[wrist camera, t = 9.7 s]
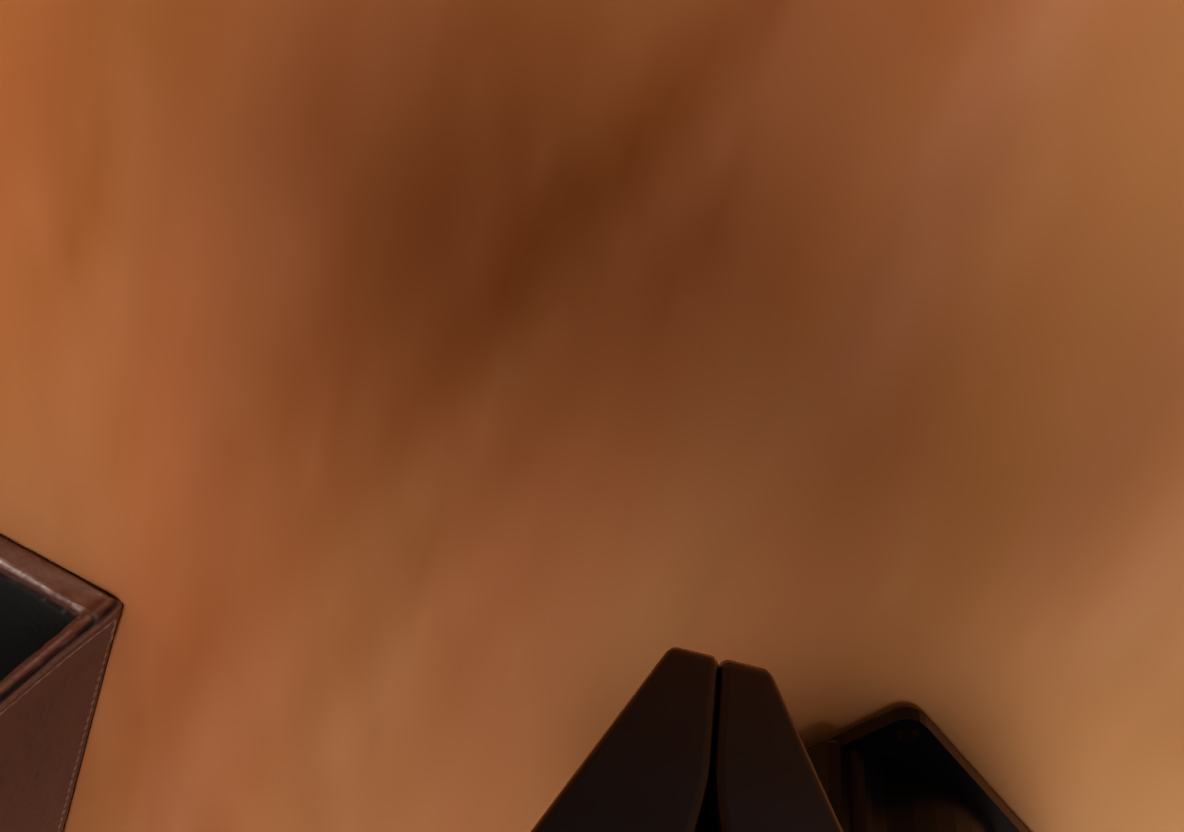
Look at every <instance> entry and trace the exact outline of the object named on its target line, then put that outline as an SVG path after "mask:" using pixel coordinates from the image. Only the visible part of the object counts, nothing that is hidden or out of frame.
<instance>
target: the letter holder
mask: <svg viewBox="0 0 1184 832" xmlns="http://www.w3.org/2000/svg"><path fill="white" fill-rule="evenodd" d="M121 610H122V602H121V601H120V600H119V599H117V598H115V597H112V596H110V595H109V594H108V593H106V592H105V591H103V590H101V589H99V588H98V587H96V586H94V585H92V584H90V583H89V582H87V581H85V580H83V579H81V578H79V577H78V576H76V575H74V574H72V573H70V572H68V571H66V570H65V569H63V568H61V567H59V566H57V565H55V564H53V563H52V562H50V561H48V560H46V559H44V558H42V557H41V556H39V555H37V554H35V553H33V552H31V551H30V550H28V549H26V548H24V547H22V546H20V545H18V544H16V543H15V542H13V541H11V540H9V539H7V538H5V537H3V536H2V535H0V832H63V827H64V824H65V821H66V818H67V814H68V809H69V805H70V802H71V799H72V795H73V790H74V786H75V782H76V779H77V775H78V771H79V768H80V764H81V760H82V756H83V752H84V748H85V744H86V740H87V736H88V732H89V729H90V725H91V721H92V717H93V714H94V710H95V706H96V702H97V698H98V694H99V691H100V687H101V683H102V679H103V675H104V671H105V667H106V663H107V660H108V656H109V652H110V647H111V644H112V640H113V637H114V634H115V630H116V627H117V623H118V619H119V616H120V613H121Z"/></svg>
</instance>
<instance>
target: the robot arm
mask: <svg viewBox="0 0 1184 832" xmlns="http://www.w3.org/2000/svg"><path fill="white" fill-rule="evenodd" d="M905 727H910V728H914V729H915V730H914V731H910V732H906V731H902V730H900V729H901V728H905ZM531 832H1029V831H1028V830H1027V828H1026V827H1025V826H1024V825H1023V824H1022V823H1021V822H1020V821H1019V819H1018V818H1017V817H1016V816H1015V815H1014V814H1013V813H1012V812H1011V810H1010V809H1009V808H1008V807H1007V806H1006V805H1005V804H1004V803H1003V802H1002V800H1001V799H1000V798H999V797H998V796H997V795H996V794H995V793H994V791H993V790H992V789H991V788H990V787H989V786H988V785H987V784H986V782H985V781H984V780H983V779H982V778H981V777H980V776H979V775H978V774H977V772H976V771H975V770H974V769H973V768H972V767H971V766H970V765H969V763H968V762H967V761H966V760H965V759H964V758H963V757H962V756H961V755H960V753H959V752H958V751H957V750H956V749H955V748H954V747H953V746H952V744H951V743H950V742H949V741H948V740H947V739H946V738H945V737H944V735H943V734H942V733H941V732H940V731H939V730H938V729H937V728H936V727H935V725H934V724H933V723H932V722H931V721H930V720H929V719H928V718H927V716H926V715H925V714H923V713H922V712H921V711H919V710H917V709H914V708H911V707H901V708H897V709H894V710H892V711H890V712H887V713H885V714H883V715H881V716H879V717H877V718H875V719H873V720H870V721H868V722H866V723H864V724H862V725H860V726H858V727H856V728H853V729H851V730H849V731H847V732H845V733H843V734H841V735H839V736H836V737H834V738H832V739H830V740H828V741H825V742H822V743H820V744H818V745H816V746H814V747H812V748H810V749H808V750H806V749H805V747H804V745H803V742H802V740H801V738H800V736H799V734H798V731H797V729H796V727H795V725H794V722H793V720H792V718H791V716H790V714H789V711H788V709H787V707H786V705H785V703H784V700H783V698H782V696H781V694H780V691H779V689H778V687H777V685H776V683H775V681H774V678H773V677H772V675H771V674H770V673H769V672H768V671H767V670H766V669H763V668H760V667H755V666H751V665H747V664H743V663H739V662H735V661H731V660H725V661H722V662H721V663H720V664H719V665H718V662H717V660H716V659H715V658H714V657H713V656H711V655H707V654H702V653H698V652H694V651H690V650H686V649H682V648H677V647H674V648H671V649H669V650H668V651H667V652H666V653H665V654H664V656H663V657H662V658H661V660H660V661H659V662H658V664H657V665H656V666H655V668H654V669H653V670H652V671H651V673H650V674H649V675H648V677H647V678H646V679H645V681H644V682H643V683H642V685H641V686H640V687H639V689H638V690H637V691H636V693H635V694H634V695H633V697H632V698H631V699H630V701H629V702H628V703H627V705H626V706H625V707H624V709H623V710H622V711H621V713H620V714H619V715H618V717H617V718H616V719H615V721H614V722H613V723H612V725H611V726H610V727H609V729H608V730H607V731H606V732H605V734H604V735H603V736H602V738H601V739H600V740H599V742H598V743H597V744H596V746H595V747H594V748H593V750H592V751H591V752H590V754H589V755H588V756H587V758H586V759H585V760H584V762H583V763H582V764H581V766H580V767H579V768H578V770H577V771H576V772H575V774H574V775H573V776H572V778H571V779H570V780H569V782H568V783H567V784H566V786H565V787H564V788H563V790H562V791H561V792H560V794H559V795H558V796H557V797H556V799H555V800H554V801H553V803H552V804H551V805H550V807H549V808H548V809H547V811H546V812H545V813H544V815H543V816H542V817H541V819H540V820H539V821H538V823H537V824H536V825H535V827H534V828H533V829H532V831H531Z"/></svg>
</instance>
